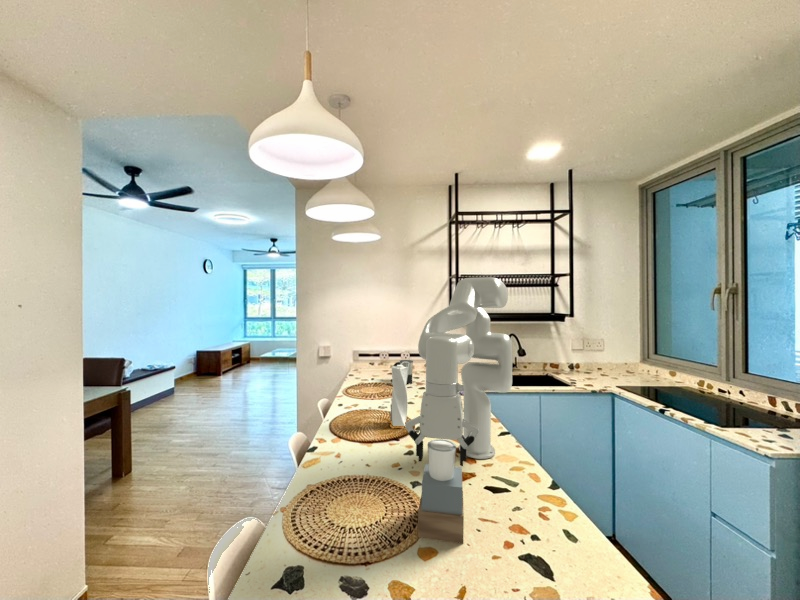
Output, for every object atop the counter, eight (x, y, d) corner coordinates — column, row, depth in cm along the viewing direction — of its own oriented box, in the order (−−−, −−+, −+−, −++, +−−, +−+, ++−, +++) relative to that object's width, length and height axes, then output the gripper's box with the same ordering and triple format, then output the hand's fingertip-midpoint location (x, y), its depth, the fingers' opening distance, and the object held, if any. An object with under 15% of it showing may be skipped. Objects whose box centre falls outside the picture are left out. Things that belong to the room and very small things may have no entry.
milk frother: (413, 381, 221) (413, 359, 222) (411, 387, 206) (412, 363, 206) (392, 380, 223) (393, 359, 223) (389, 386, 207) (390, 363, 208)
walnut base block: (422, 510, 82) (422, 486, 82) (462, 515, 80) (462, 490, 80) (417, 538, 72) (418, 510, 72) (463, 544, 70) (463, 516, 70)
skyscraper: (408, 423, 143) (409, 360, 143) (408, 430, 135) (409, 363, 135) (390, 422, 143) (390, 359, 144) (388, 429, 135) (389, 362, 136)
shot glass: (453, 467, 80) (454, 439, 80) (458, 482, 73) (458, 451, 73) (426, 466, 80) (426, 438, 80) (427, 481, 73) (428, 450, 73)
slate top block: (425, 488, 81) (425, 464, 81) (461, 491, 80) (461, 467, 80) (421, 510, 72) (421, 483, 72) (462, 515, 71) (462, 487, 71)
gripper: (478, 387, 79) (477, 457, 78) (408, 383, 82) (407, 450, 82) (479, 395, 71) (479, 473, 71) (403, 390, 75) (402, 465, 74)
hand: (440, 461), depth 76 cm, fingers open, 9 cm apart
